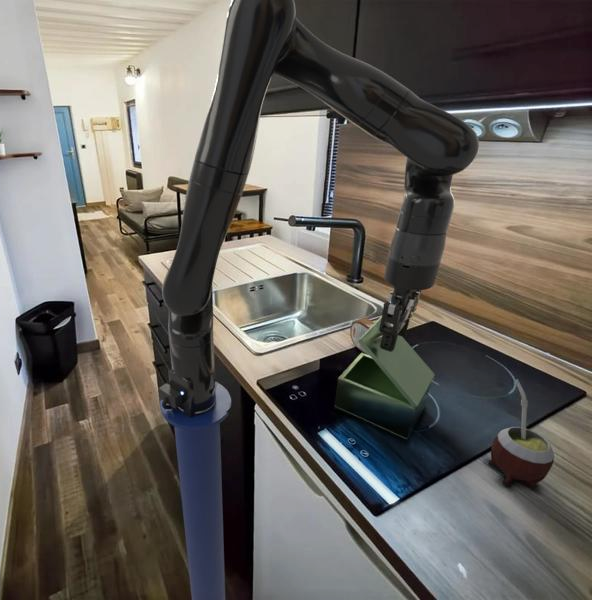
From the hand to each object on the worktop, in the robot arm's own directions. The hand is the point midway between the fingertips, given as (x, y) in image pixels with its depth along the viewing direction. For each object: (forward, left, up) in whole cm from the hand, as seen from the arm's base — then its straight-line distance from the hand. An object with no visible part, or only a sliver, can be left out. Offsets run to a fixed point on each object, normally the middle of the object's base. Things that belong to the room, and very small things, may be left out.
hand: (392, 341), depth 67 cm
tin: (+18, +8, -16) cm, 26 cm away
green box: (0, 0, -16) cm, 16 cm away
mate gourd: (-2, -21, -16) cm, 27 cm away
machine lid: (0, -1, -3) cm, 4 cm away
